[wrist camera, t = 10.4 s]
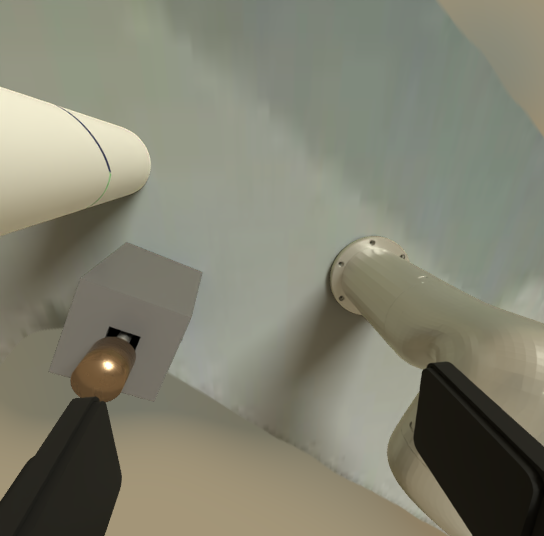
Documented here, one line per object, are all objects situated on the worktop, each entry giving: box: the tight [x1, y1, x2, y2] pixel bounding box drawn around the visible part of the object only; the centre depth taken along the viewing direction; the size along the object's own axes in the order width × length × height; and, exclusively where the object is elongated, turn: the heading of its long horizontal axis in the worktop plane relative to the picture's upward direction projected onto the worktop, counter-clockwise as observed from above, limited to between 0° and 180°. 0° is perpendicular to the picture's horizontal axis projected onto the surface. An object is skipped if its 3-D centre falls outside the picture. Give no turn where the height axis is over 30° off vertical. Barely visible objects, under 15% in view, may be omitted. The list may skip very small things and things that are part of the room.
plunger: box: [71, 330, 136, 402], centre depth 37 cm, size 8×8×20 cm
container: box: [0, 87, 151, 236], centre depth 28 cm, size 9×9×30 cm
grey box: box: [49, 242, 202, 402], centre depth 41 cm, size 11×11×15 cm
